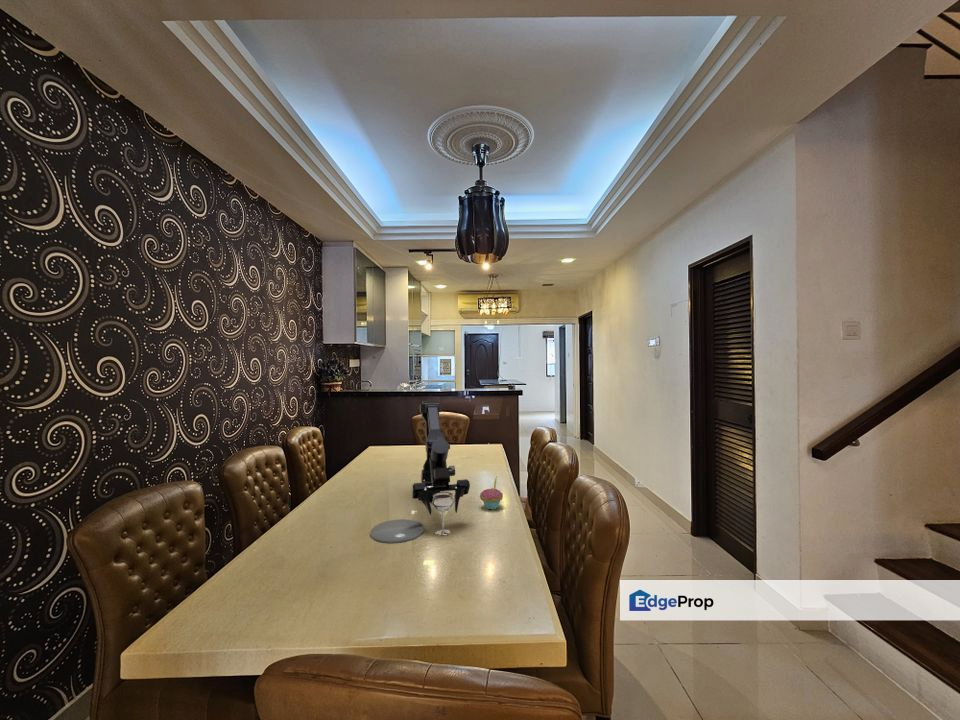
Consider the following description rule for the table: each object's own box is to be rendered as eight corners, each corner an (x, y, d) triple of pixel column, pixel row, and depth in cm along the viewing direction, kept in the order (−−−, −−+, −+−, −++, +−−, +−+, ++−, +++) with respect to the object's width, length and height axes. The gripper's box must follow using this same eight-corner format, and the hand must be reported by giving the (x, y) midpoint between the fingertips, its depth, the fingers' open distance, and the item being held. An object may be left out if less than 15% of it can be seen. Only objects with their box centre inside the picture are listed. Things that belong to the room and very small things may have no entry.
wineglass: (450, 537, 130) (450, 499, 130) (429, 536, 131) (429, 497, 131) (456, 529, 137) (455, 492, 137) (436, 527, 138) (436, 491, 138)
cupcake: (503, 504, 160) (503, 473, 160) (502, 512, 151) (502, 479, 151) (481, 504, 160) (480, 472, 161) (478, 512, 152) (478, 479, 152)
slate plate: (361, 531, 136) (361, 528, 136) (406, 517, 147) (406, 515, 147) (387, 548, 123) (387, 545, 123) (434, 532, 134) (434, 529, 134)
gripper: (412, 458, 136) (415, 503, 125) (468, 455, 140) (475, 498, 129) (411, 476, 144) (413, 520, 133) (464, 472, 148) (471, 515, 137)
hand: (443, 513), depth 133 cm, fingers open, 8 cm apart
